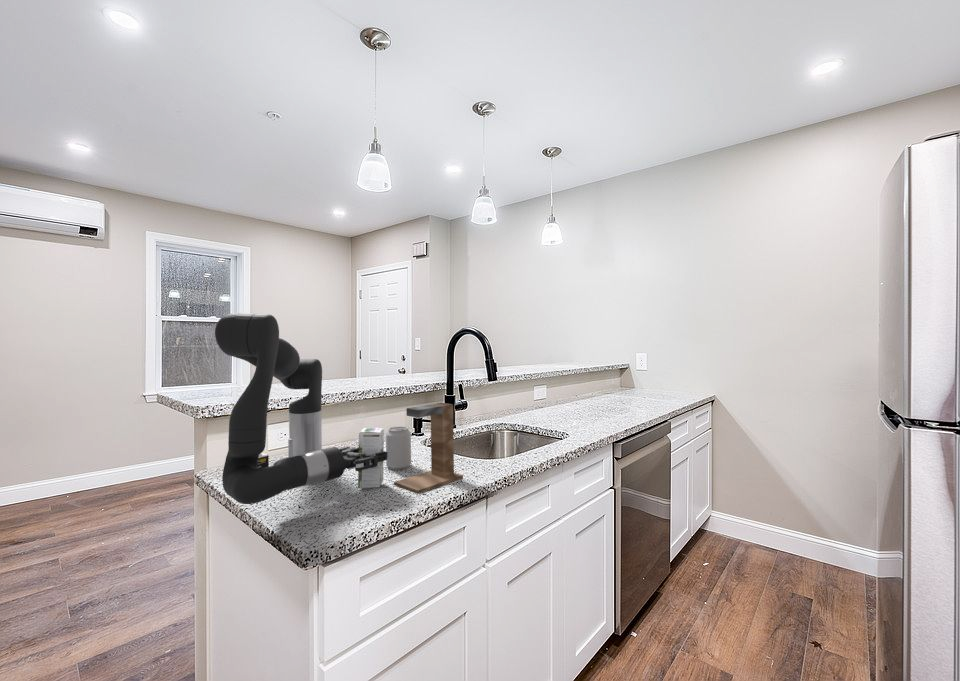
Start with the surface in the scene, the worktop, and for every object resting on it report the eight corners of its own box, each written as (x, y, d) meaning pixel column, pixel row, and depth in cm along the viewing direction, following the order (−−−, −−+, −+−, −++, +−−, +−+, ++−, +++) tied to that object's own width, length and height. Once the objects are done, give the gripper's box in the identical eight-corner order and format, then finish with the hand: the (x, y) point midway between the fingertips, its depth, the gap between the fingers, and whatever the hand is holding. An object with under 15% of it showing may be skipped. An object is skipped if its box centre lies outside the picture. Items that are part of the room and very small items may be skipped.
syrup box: (362, 481, 117) (361, 427, 116) (384, 480, 117) (384, 427, 117) (357, 488, 111) (357, 432, 111) (381, 487, 111) (381, 431, 111)
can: (405, 471, 127) (405, 430, 127) (382, 470, 129) (381, 430, 129) (414, 464, 135) (414, 425, 135) (392, 463, 136) (391, 425, 136)
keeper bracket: (418, 493, 109) (417, 412, 109) (394, 484, 116) (393, 408, 116) (462, 477, 121) (461, 404, 121) (438, 470, 127) (437, 401, 127)
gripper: (334, 456, 99) (393, 442, 111) (305, 445, 108) (362, 434, 120) (334, 488, 99) (393, 472, 111) (305, 475, 108) (362, 461, 120)
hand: (377, 452), depth 115 cm, fingers closed on syrup box, 8 cm apart
